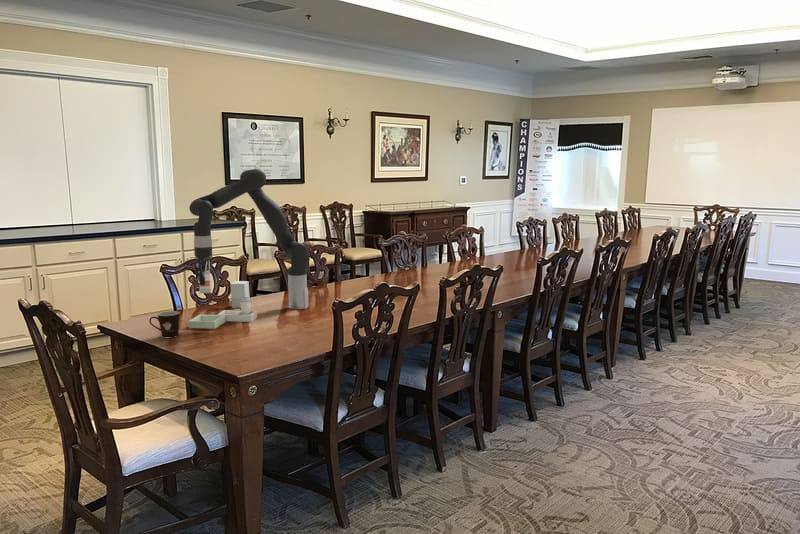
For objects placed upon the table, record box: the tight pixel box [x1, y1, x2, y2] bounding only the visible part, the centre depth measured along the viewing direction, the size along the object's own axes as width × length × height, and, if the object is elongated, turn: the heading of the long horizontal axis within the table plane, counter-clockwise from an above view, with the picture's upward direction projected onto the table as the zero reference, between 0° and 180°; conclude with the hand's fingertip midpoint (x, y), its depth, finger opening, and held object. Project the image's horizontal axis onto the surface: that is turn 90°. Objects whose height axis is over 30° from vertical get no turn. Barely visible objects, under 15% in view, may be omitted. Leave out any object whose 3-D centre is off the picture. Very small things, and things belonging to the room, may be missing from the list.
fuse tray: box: [187, 314, 226, 332], centre depth 277 cm, size 12×12×4 cm
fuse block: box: [216, 309, 258, 323], centre depth 287 cm, size 16×8×4 cm, turn 84°
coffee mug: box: [148, 310, 180, 337], centre depth 262 cm, size 12×9×10 cm
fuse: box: [240, 296, 252, 315], centre depth 286 cm, size 5×5×10 cm
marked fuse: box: [198, 269, 212, 294], centre depth 274 cm, size 5×5×10 cm
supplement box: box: [230, 280, 250, 309], centre depth 316 cm, size 7×7×13 cm
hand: (204, 283), depth 274 cm, fingers closed on marked fuse, 4 cm apart
